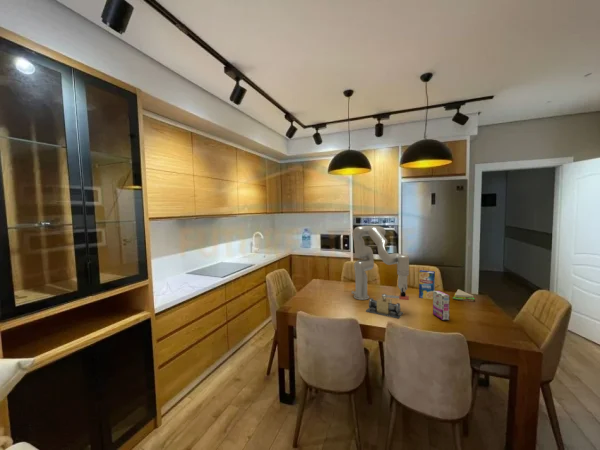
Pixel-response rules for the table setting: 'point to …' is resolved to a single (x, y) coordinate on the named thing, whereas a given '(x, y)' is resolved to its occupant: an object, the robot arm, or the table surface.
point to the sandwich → (463, 296)
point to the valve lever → (396, 297)
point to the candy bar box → (441, 305)
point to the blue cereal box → (426, 284)
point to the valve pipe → (384, 308)
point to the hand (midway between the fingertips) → (402, 298)
